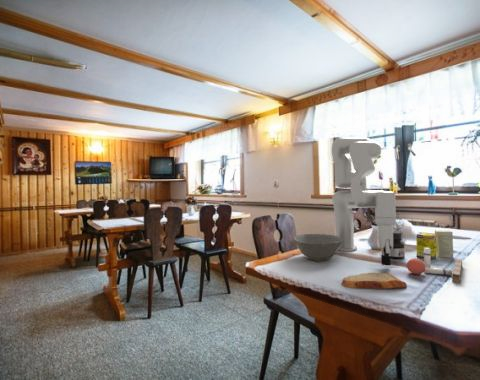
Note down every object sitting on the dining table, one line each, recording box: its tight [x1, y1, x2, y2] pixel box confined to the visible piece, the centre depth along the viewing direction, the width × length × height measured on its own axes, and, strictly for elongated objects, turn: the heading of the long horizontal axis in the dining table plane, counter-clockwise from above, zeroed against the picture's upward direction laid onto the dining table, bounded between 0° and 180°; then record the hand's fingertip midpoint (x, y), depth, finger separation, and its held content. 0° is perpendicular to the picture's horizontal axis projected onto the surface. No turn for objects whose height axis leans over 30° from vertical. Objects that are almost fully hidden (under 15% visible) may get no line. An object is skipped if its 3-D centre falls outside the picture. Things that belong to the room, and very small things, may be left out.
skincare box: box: [434, 229, 454, 259], centre depth 128 cm, size 6×4×12 cm
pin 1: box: [423, 248, 432, 268], centre depth 110 cm, size 2×2×8 cm
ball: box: [406, 257, 425, 275], centre depth 105 cm, size 6×6×6 cm
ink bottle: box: [390, 230, 406, 260], centre depth 129 cm, size 10×9×12 cm
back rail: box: [451, 258, 463, 284], centre depth 104 cm, size 24×2×3 cm, turn 139°
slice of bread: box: [341, 272, 408, 290], centre depth 95 cm, size 18×18×4 cm
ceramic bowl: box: [293, 233, 343, 262], centre depth 129 cm, size 22×23×10 cm
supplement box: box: [415, 232, 437, 260], centre depth 127 cm, size 6×6×11 cm
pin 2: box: [423, 267, 453, 277], centre depth 104 cm, size 2×2×8 cm
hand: (385, 264), depth 113 cm, fingers closed
